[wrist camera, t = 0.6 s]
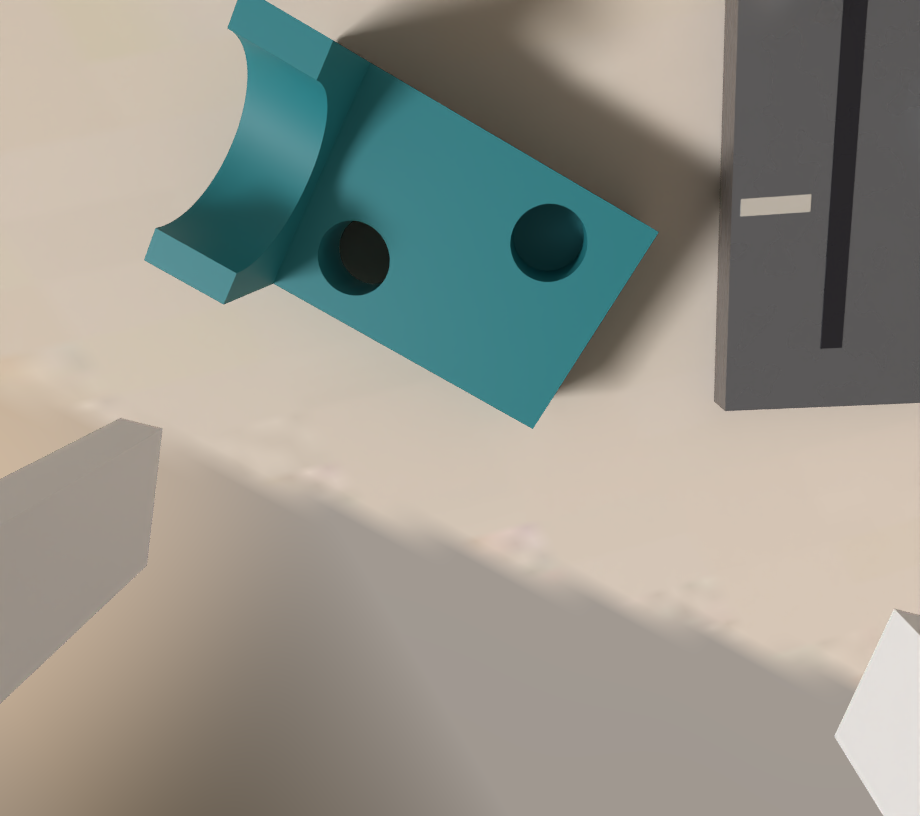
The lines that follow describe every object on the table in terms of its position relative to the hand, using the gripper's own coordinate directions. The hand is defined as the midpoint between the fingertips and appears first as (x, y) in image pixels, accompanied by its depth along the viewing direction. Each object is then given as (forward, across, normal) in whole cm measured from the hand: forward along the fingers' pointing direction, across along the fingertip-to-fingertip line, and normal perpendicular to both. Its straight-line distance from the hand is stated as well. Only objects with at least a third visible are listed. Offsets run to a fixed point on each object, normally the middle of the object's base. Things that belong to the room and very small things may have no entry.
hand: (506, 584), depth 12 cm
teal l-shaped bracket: (+26, -5, +5) cm, 27 cm away
